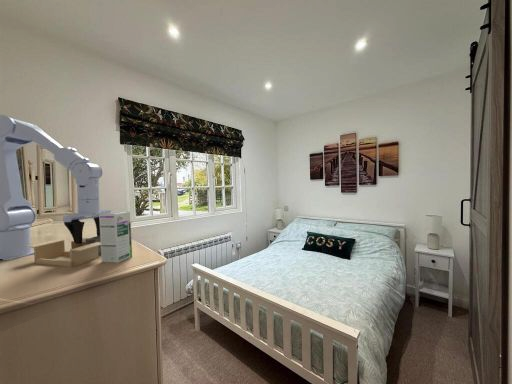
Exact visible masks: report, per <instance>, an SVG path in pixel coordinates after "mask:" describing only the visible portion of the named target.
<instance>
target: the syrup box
mask: <svg viewBox="0 0 512 384" xmlns="http://www.w3.org/2000/svg"><path fill="white" fill-rule="evenodd" d="M99 221H100V239H101V255H100V256H101V257H100V258H101V262H103V263H115V264H118V263H120V262H123V261H125V260H127V259H129V258H132V257H133V246H132V242H133V241H132V224H131V212H130V211H128V210H127V211H126V210H122V211H121V210H119V211H113V212H112V211H111V213H104V214H100V215H99Z"/></svg>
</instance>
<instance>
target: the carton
mask: <svg viewBox="0 0 512 384" xmlns="http://www.w3.org/2000/svg"><path fill="white" fill-rule="evenodd" d="M65 245H66V244H65V240H64V239H52V240H47V241H43V242H40V243H34V244H31V245H29V246H26V247H30V248H31V249H32V248H33V251H34V254H33V255H34V264H38V265H40V264H41V265H49V266H58V267H59V266H60V267H69V268H70V267H71V268H73V267H76V266H79V265H82V264H84V263H87V262H90V261H93V260H97V259H99V255H98V246H100V245H101V242H95V243H92V244H88V245H84V246H81V247H77V248H73V249H71V248H70V249H69V250H65Z"/></svg>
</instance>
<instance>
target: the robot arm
mask: <svg viewBox="0 0 512 384" xmlns="http://www.w3.org/2000/svg"><path fill="white" fill-rule="evenodd" d="M33 142H34V143H35V144H36V145H38V146H39V147H42V148H44V150H47V151H48V152H49V153H51V154H53V158H54V161H56V162H57V163H58V164H60V165H62V166H63V167H64V168H66V169H67V170H68V171H70V172H71V173H70V174H71V176H72V177H73V179H75V184H76V194H77V195H76V197H77V200H76V201H77V212H76V213H71V214H66V215H65V214H64V215H62V222H63V224H64V226H65V227H66V228H67V230H68V231H69V233H70V235H71V237H72V239H73V240H72V241H74V242H75V243H76V244H80V243H82V239H83V232H84V230H83V229H84V226H85V221H82V220H89V219H93V220H94V223H95V228H96V236H100V221H99V215H100V214H104V213H111V212H112V210H110V209H104V210H101V209H100V207H101V206H100V185H99V184H100V183H99V180H100V178H101V177H102V175H103V169H102V168H101V166H100V165H99V163H95V162H90V159H89V158H87V157H84V156H83V155H81V154H80V153H78V150H77V149H76V148H73V147H70V146H65V147H63V146H62V145H61V144H60V143H58V142H57V141H56V140H55V139H53V138H52V137H51V136H49V134H48V133H46V131H43V129H42V128H41V127H39V126H37V125H36V124H34V123H32V122H28V121H23V120H20V119H17V118H12V117H10V116H7V115H5V114H0V259H3V260H2V261H10V260H15V259H19V258H23V257H27V256H30V255H31V256H32V255H34V250H32V248H30V247H26V246H29V245H32V242H31V241H32V239H31V238H32V237H31V227H33V224H34V223H35V222H36V219H37V213H36V210H35V209H34V208H33V204H32V202H31V201H29V200H27V199H26V198H24V193H23V188H22V181H21V176H20V170H19V163H18V157H17V150H18V149H20V148H22V147H24V146H26V145H28V144H30V143H33Z"/></svg>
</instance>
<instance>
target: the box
mask: <svg viewBox="0 0 512 384" xmlns="http://www.w3.org/2000/svg"><path fill="white" fill-rule="evenodd" d="M95 242H101V239H100V236H97V235H96V236H93V237H88V238H87V237H84V238H83V237H82V243H80V244H76V243H75V242H74V240H71V242H70V244H71V245H70V247H71V248H70V249H73V248H77V247H81V246H84V245H88V244H92V243H95ZM98 256H101V245H100V246H98Z"/></svg>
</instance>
